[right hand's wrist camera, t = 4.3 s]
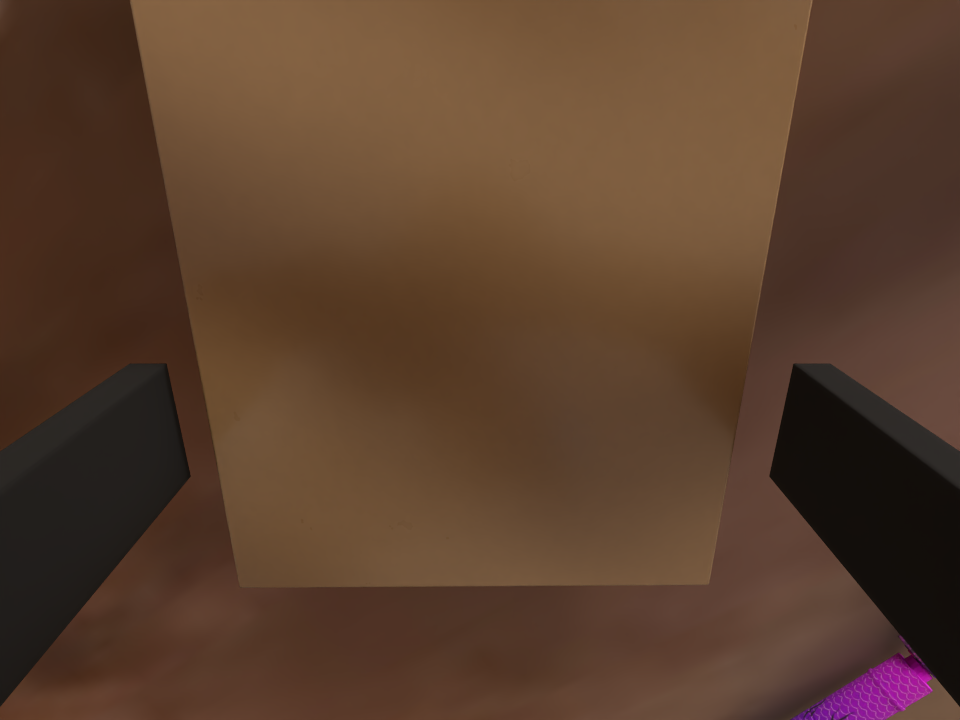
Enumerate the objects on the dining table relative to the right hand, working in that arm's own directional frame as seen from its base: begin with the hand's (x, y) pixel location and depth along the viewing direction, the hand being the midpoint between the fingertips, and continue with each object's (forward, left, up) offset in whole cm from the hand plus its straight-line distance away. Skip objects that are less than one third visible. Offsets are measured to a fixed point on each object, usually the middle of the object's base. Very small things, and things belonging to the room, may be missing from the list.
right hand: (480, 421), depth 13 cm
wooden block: (+2, 0, -10) cm, 10 cm away
